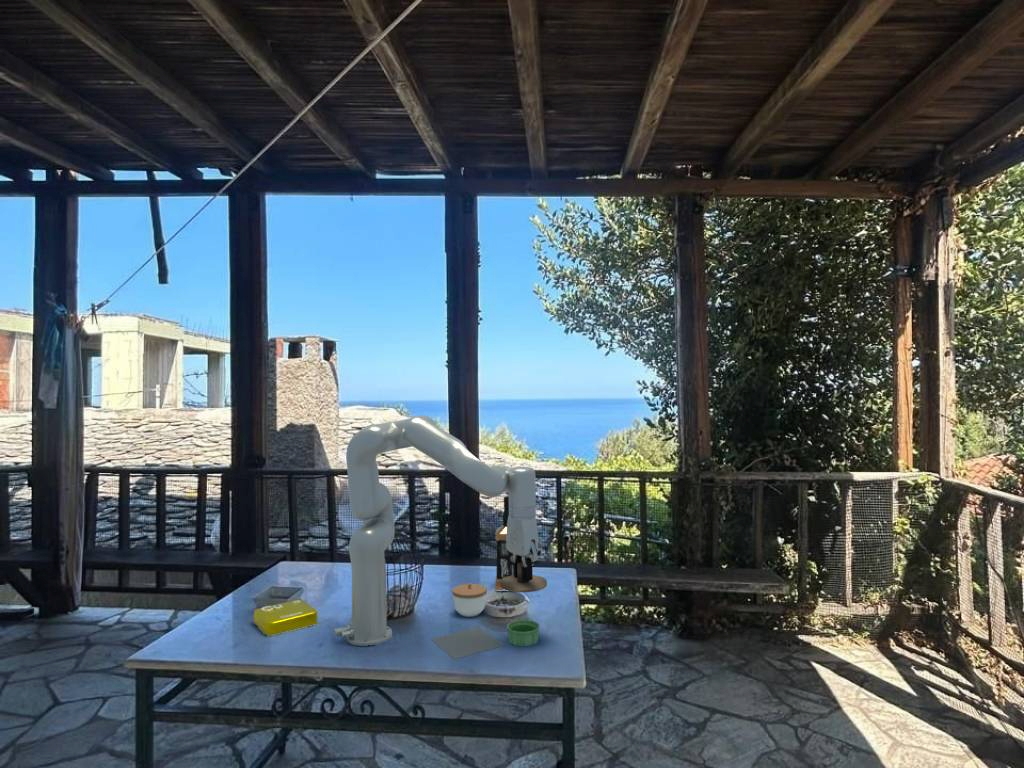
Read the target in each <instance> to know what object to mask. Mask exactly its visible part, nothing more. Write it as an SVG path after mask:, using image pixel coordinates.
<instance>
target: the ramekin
mask: <svg viewBox="0 0 1024 768" xmlns="http://www.w3.org/2000/svg"><path fill="white" fill-rule="evenodd" d="M506 629H507V635H508V642H509V643H510V644H512V645H514V646H517V647H527V646H528V647H529V646H533V645H536V644H537V643H538V642H539V633H540V631H539V630H540V624H539V622H536V621H534V620H531V619H515V620H512V621H510V622H509V623H507V624H506Z"/></svg>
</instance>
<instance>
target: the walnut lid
mask: <svg viewBox="0 0 1024 768" xmlns="http://www.w3.org/2000/svg"><path fill="white" fill-rule="evenodd" d="M522 567H523V561H522V562H518V563H517V576H518V578H515V577H514V575H512V576H508V577H505V578H503V579H501V580H500V587H501V588H503V589H505V590H508V591H513V592H512V593H514V592H515V593H532V592H537V591H542V590H544V589H545V588H546V587H547V586H548V581H547V579H546V578H544V577H543V576H540V575H534V574H533V579H532V580H530V581H525V582H523V581H522Z"/></svg>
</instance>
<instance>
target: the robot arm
mask: <svg viewBox="0 0 1024 768" xmlns="http://www.w3.org/2000/svg"><path fill="white" fill-rule="evenodd" d="M411 447H413V448H414V449H416V450H418V451H420V453H423V454H424V455H425V456H427V457H429V458H430V459H432V460H434V461H435V462H436V463H437V464H440V465H441V466H442V467H444V468H445V469H446V470H447V471H448V472H450V473H451V474H452V475H454V476H455V477H456V478H457V479H459V480H460V481H461V482H463V483H464V484H465V485H467V486H468V487H470V488H471V489H473V490H475V491H476V492H478V493H480V494H481V495H483V496H485V497H488V498H496V497H499V496H501V495H502V494H503V493H504V492H506V491H507V492H508V496H509V516H508V521H507V530H506V549H507V550H508V551H510V552H511V554H512V557H513V563H514V577H515V578H518V576H517V563H518V562H523V567H522V581H523V582H525V581H530V580H532V579H533V575H534V574H533V566H534V563H535V562H536V561H538V560H539V556H538V553H539V533H538V523H537V519H536V518H537V502H536V501H537V498H536V497H537V496H536V495H537V494H536V492H537V491H536V483H537V482H536V471H535V469H534V468H533V467H529V466H515V467H514V466H513V467H509V466H501V465H493V466H490V465H488V464H487V463H485V462H483V461H482V460H480V459H479V458H477V457H476V456H475V455H474V454H472V452H471V451H470V450H468V448H467V447H466V445H465V444H464V442H462V441H461V440H460V439H459V438H457V437H456V436H454V435H452V434H451V433H449V432H447V431H446V430H444V429H443V428H441V427H439V426H438V425H437V423H436V421H435V420H434V419H432V417H430V416H428V415H415V416H411V417H410V418H406V419H400V420H395V421H388V422H384V423H376V424H374V423H373V424H371V425H368V426H366V427H364V428H362V429H360V430H359V431H358V432H356V433H355V434H354V435H353V436H352V438H351V439H350V441H349V442H348V444H347V447H346V453H345V456H346V457H345V458H346V471H347V483H348V484H347V486H348V498H349V508H350V512H351V514H352V515H353V517H355V518H356V520H360V521H362V525H361V526H359V527H358V528H356V530H355V531H354V532H353V533H352V535H351V537H350V539H349V545H348V553H349V557H350V558H349V559H350V566H351V620H350V621H348V624H347V625H345V626H344V627H337V628H334V631H333V633H334V636H335V637H338V636H339V637H340V636H341V637H342V638H345V639H346V642H347V643H349V644H350V645H353V646H357V645H358V646H360V647H369V646H368V645H370V646H375V645H379V644H381V643H384V642H387V641H389V639H391V638H392V636H393V630H392V628H391V627H390V626H387V625H388V624H387V565H386V558H385V550H386V549H388V547H390V545H391V544H392V543H393V542H394V539H395V531H396V530H395V519H394V518H395V517H394V508H393V507H394V506H393V499H392V494H391V492H390V489H389V488H388V487H387V486H386V485H385V484H384V483H382V482H380V479H379V477H380V476H379V475H380V474H379V472H380V471H379V466H378V463H377V460H376V459H377V457H378V456H379V455H381V454H386V453H387V452H388V453H389V452H391V451H396V450H397V451H398V450H400V449H407V448H411ZM358 646H357V647H358Z"/></svg>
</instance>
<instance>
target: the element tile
mask: <svg viewBox="0 0 1024 768" xmlns="http://www.w3.org/2000/svg"><path fill="white" fill-rule="evenodd" d="M254 623H255V624H256V625H257V626H258V627H259V628H260V629H261V630H262V632H264V633H265V634H267V635H273V634H278V633H282V632H286V631H290V630H294V629H298V628H302V627H306V626H309V625H313V624H316V623H317V624H318V610H317V609H316V608H315V607H313V606H312V605H310V604H309V603H308V602H306V601H305V600H303V599H295V600H291V601H286V602H281V603H276V604H273V605H267V606H263V607H259V608H256V609H255V610H254V611H253V624H254ZM317 624H316V625H317ZM262 632H261V633H262Z"/></svg>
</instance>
